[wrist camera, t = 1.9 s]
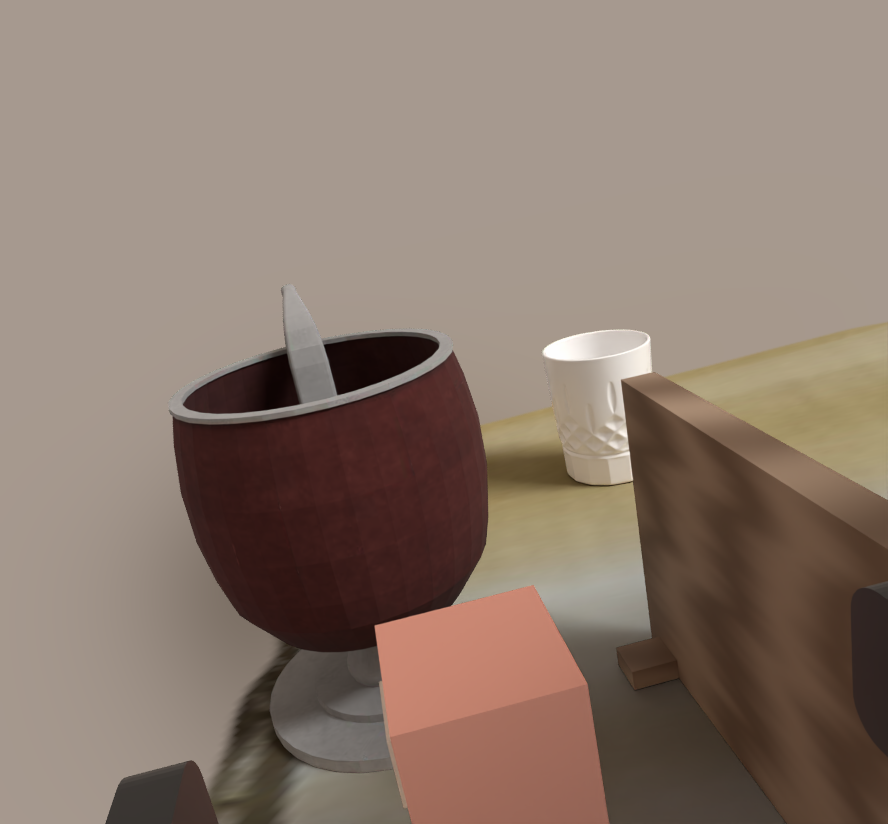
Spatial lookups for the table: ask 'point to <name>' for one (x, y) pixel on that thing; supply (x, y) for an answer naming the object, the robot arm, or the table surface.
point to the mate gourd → (334, 510)
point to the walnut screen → (757, 597)
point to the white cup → (595, 400)
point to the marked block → (489, 716)
